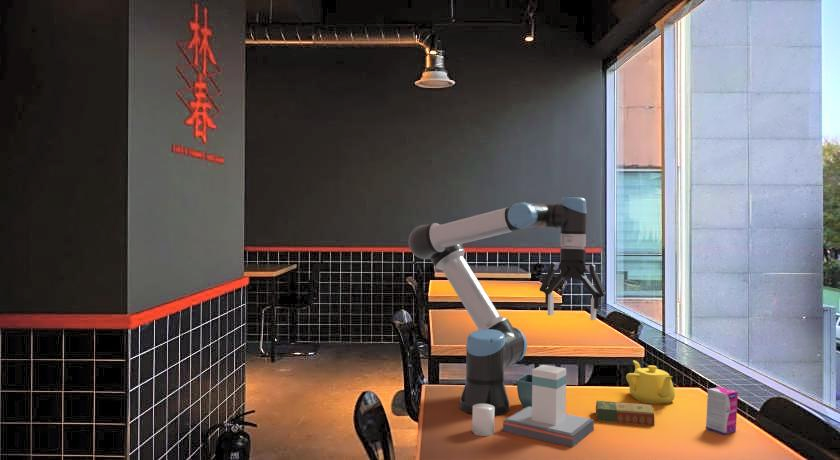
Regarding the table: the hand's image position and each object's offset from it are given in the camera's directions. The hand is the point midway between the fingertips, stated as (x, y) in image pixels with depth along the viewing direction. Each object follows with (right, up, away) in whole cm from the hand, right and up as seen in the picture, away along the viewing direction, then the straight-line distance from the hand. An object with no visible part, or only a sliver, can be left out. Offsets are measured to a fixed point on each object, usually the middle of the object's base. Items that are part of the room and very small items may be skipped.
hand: (571, 317), depth 190 cm
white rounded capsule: (-29, -29, -20) cm, 45 cm away
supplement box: (+38, -30, -15) cm, 51 cm away
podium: (-11, -29, -18) cm, 36 cm away
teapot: (+29, -29, +15) cm, 43 cm away
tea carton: (-11, -26, -18) cm, 33 cm away
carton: (+14, -30, -6) cm, 33 cm away
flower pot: (-11, -29, +3) cm, 31 cm away
